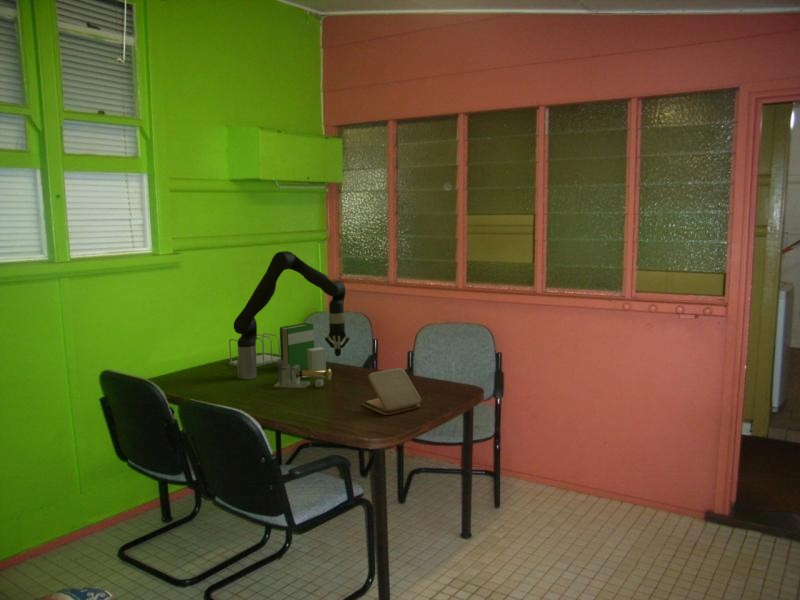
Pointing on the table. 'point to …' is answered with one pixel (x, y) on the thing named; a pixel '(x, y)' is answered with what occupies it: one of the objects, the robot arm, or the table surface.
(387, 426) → the table surface
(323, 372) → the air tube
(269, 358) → the file sorter
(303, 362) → the hardback book
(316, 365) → the skincare box
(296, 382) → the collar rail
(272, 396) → the table surface
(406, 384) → the case
